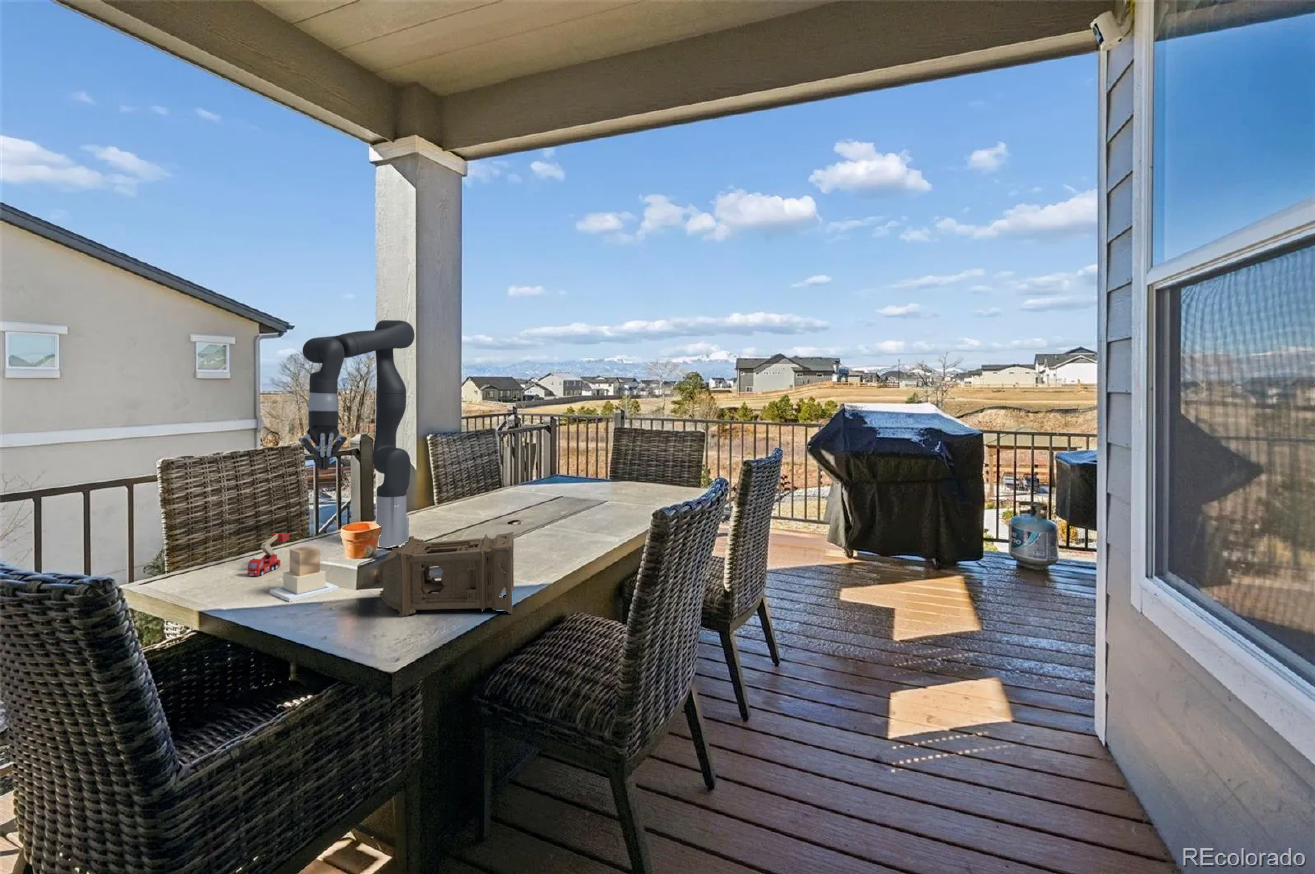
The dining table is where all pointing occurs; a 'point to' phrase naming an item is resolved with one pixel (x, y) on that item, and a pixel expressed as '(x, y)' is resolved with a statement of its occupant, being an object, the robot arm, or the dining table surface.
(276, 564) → the toy fire truck
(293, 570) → the oak block
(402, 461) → the robot arm
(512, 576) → the brown stone lantern
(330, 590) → the board
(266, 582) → the dining table surface
